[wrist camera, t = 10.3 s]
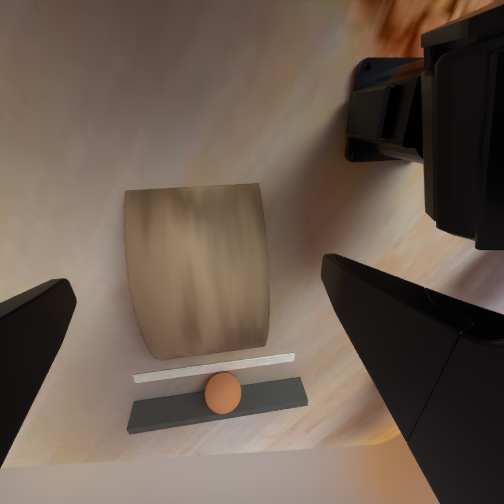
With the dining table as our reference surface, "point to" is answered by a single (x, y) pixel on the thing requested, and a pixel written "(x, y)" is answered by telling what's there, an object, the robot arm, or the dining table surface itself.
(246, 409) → the bar
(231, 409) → the ball
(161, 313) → the hump
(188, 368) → the line
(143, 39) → the dining table surface
